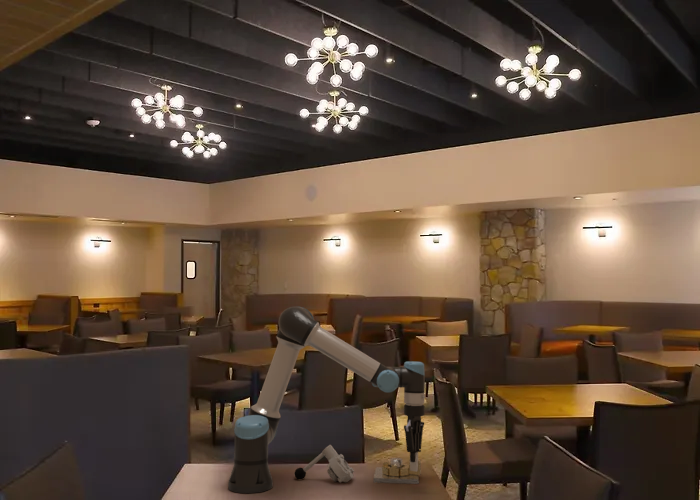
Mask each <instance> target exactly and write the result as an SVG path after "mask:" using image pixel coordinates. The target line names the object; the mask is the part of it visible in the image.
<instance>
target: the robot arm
mask: <svg viewBox="0 0 700 500" xmlns="http://www.w3.org/2000/svg"><path fill="white" fill-rule="evenodd" d="M278 327H279V328H278V331H277V334H276V336H275V338H276V340H277V345H276V349H275V351H274V354H273V357H272V360H271V362H270V365H269V368H268V370H267V371H268V372H267V373H266V377H265V380H264V382H263V385H262V388H261V391H260V393H259V395H258V396H259V397H258V399H257V402H256V403H255V404H254V405H251V406H250V409H249V412H248V415H245V416H241V417H239V418H237V420H236V421H235V424H234V428H233V430H234V431H233V432H234V441H233V442H234V444H233V445H234V446H233V447H234V448H233V449H234V450H233V451H234V452H233V453H234V454H233V467H232V469H231V474H230V476H229V478H228V482H227V485H228V486H227V487H228V490H229V491H231V492H233V493H240V494H255V493H257V494H258V493H261V492H267V491H269V490H271V489H272V488H273V477H272V474H271V471H270V470H271V469H270V466H269V445H270V444H271V443H272V442H273V441H274V439H276V436H277V433H278V426H279V423H280V420H281V418H282V417H281V413H280V408H281V404H282V402H283V400H284V397H285V395H286V390H287V388H288V384H289V383H290V379H291V377H292V373H293V371H294V368H295V365H296V363H297V362H296V361H297V359H298V357H299V354H300V351H301V350H302V349H304V348H306V347H307V346H310V347H312V348H314V349H315V350H316V351H318V352H319V353H321V354H322V355H324V356H326V357H328V358H330V359H331V360H332V361H335V362H336V363H338V364H340V365H341V366H343V367H344V368H346V369H348V370H349V371H351V372H353V373H355V374H357V376H360V378H363V379H364V380H366V381H368V382H370V383H371V385H372V386H373V387H374V388H379V390H380V391H382V392H384V393H393V392H394V391H395V390H396V389H397V388H400V389H401V388H403V389H404V390H403V403H404V405H403V414H404V416H406V417H407V419H406V424H405V425H403V430H404V433H405V434H404V435H405V443H406V444H405V446H406V451H407V452H408V453H409V460H410V471H416V472H417V471H418V460H419V453H421V452H422V443H423V434H424V432H423V431H424V426H425V422H424V421H422V417H423V416H425V411H426V410H425V405H424V404H425V399H426V395H425V386H426V385H425V383H426V382H425V377H426V375H425V373H426V372H425V363H424V362H422V361H405V362H404V364H403V366H385V365H384V364H382V363H381V362H379V361H378V360H376V359H374V358H373V357H370V356H369V355H367V354H366V353H365V352H362V351H361V350H360V349H358V348H356V347H354V346H352V345H351V344H350V343H348V342H347V341H346V342H345V340H343V339H341V338H340V337H338V336H336V335H335V334H333V333H331V332H330V331H328V330H326V329H324V328H322V326H320V322H318V321H317V320H316V319H314V316H313V314H312V313H311V312H310V310H308V309H307V308H305V307H301V306H290V307H287V308H286V309H284V310H283V311H282V312H281V314H280V315H279V317H278Z"/></svg>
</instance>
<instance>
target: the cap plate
mask: <svg viewBox="0 0 700 500" xmlns="http://www.w3.org/2000/svg"><path fill="white" fill-rule="evenodd" d="M390 463H391V467H392V464H396V465H397V468H402V463H403V458H401V457H391V458H390ZM419 476H420V475H414V474H409V475H405V476H389V475H386V474H383V473H382V466H381V467H380V466H378V467H377V466H376V467H375V470H374V475H373V483H374V484H375V483H376V482H377V483H376V484H379V483H380V484H409V485H410V484H415V485H419V484H420V478H419Z"/></svg>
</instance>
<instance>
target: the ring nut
mask: <svg viewBox="0 0 700 500" xmlns="http://www.w3.org/2000/svg"><path fill="white" fill-rule="evenodd" d="M389 461H390V460H388V461H387V460H386V461H385V460H384V461H383V462H382V466H381V467H382V473H383V474H386V475H389V476H405V475H409V474H414V475H418V476H420V475H421V474H422V473H421V472H422V471H421V469H422V467H421V466H422V465H421V459H418V471H417V472H416V471H410V459H409V460H408V463H404V462H402V468H397V465H396V464H392V467H391V462H389Z"/></svg>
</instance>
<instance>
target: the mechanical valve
mask: <svg viewBox="0 0 700 500" xmlns="http://www.w3.org/2000/svg"><path fill="white" fill-rule="evenodd" d="M334 448H335V447H333V446H332V444H329V445H327V446H326V447H325V448H324V449H323V450H322V452H321V453H320V454H318V456H316V457H315V458H314V459H312V460H311V461H310V462H309V463H308V464H307V465H306V466H304V467H297V468H296V469H295V470H294V477H295V478H296V480H298V479H302V480H304V479H305V477H306V476H307V471H308V470H309V469H311V468H312V467H313V466H315V464H317V463H318V462H319V461H320V460H321V459H322V458H324V457H325V458H326V460H327V461H328V464H327V467H328V469H327V470H326V471H327V472H326V473H327V474H328V477H329V478H330V479H331V480H332V481H333V482H335V483H336V482H337V481H338V482H339V483H348V482H349V481H350V480H351V479H353V478H354V473H355V470H354V468H353V467H352V466H351V467H350V465H349V464H348V462H347V461H346V460H345V456H344V455H343V454H342V453H340V454H338V452H337V451H336V449H334Z"/></svg>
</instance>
